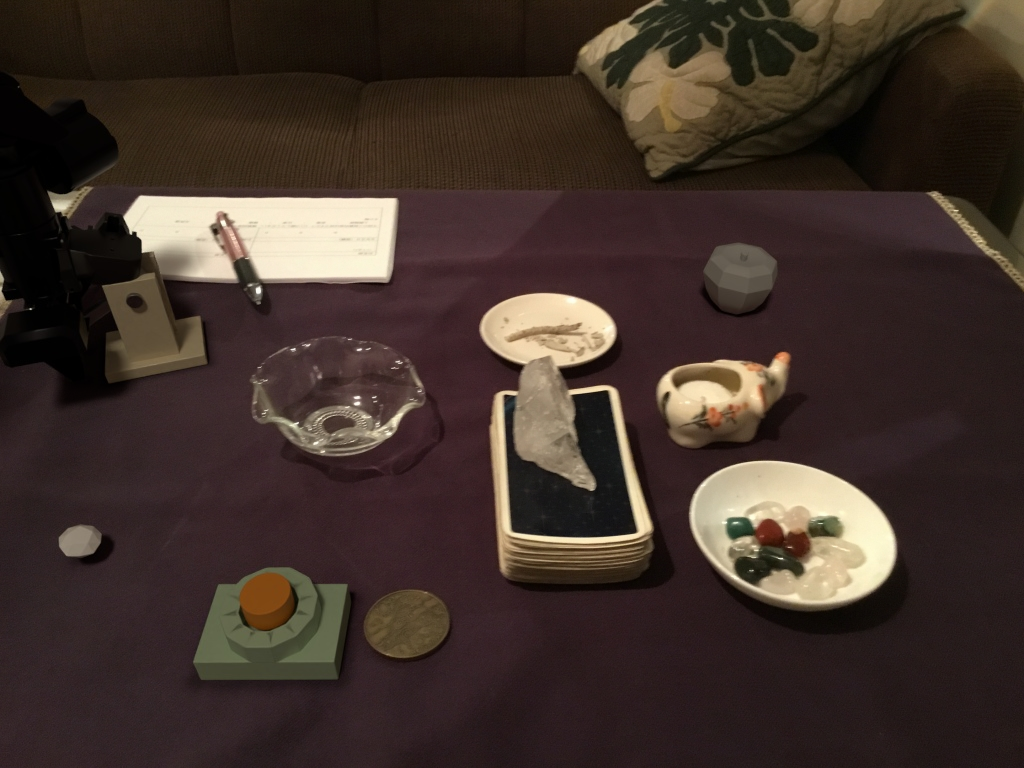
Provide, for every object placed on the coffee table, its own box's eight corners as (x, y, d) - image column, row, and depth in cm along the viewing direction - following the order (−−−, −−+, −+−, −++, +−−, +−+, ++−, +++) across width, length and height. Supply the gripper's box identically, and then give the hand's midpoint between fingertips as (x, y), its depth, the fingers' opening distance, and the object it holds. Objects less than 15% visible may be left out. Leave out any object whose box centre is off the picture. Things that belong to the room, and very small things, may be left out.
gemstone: (52, 557, 58) (49, 534, 56) (86, 536, 60) (84, 513, 58) (77, 581, 58) (75, 559, 56) (111, 559, 60) (110, 536, 58)
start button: (239, 630, 50) (233, 614, 49) (251, 588, 53) (246, 572, 52) (289, 630, 51) (284, 614, 49) (299, 588, 53) (294, 572, 52)
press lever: (70, 359, 74) (40, 338, 71) (71, 340, 76) (43, 319, 74) (159, 296, 73) (133, 273, 71) (158, 278, 75) (133, 255, 73)
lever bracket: (108, 384, 74) (73, 297, 68) (109, 341, 79) (76, 257, 73) (207, 364, 77) (182, 278, 71) (203, 324, 82) (178, 241, 76)
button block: (200, 681, 52) (185, 647, 49) (225, 601, 56) (212, 567, 54) (338, 680, 52) (330, 647, 49) (351, 601, 56) (344, 567, 54)
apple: (776, 327, 83) (791, 274, 79) (701, 324, 83) (712, 271, 79) (761, 286, 89) (774, 234, 85) (691, 283, 89) (701, 232, 85)
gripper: (120, 257, 61) (173, 406, 72) (122, 160, 75) (166, 298, 85) (-41, 282, 58) (37, 435, 68) (-10, 177, 72) (52, 317, 82)
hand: (80, 364), depth 76 cm, fingers open, 5 cm apart
